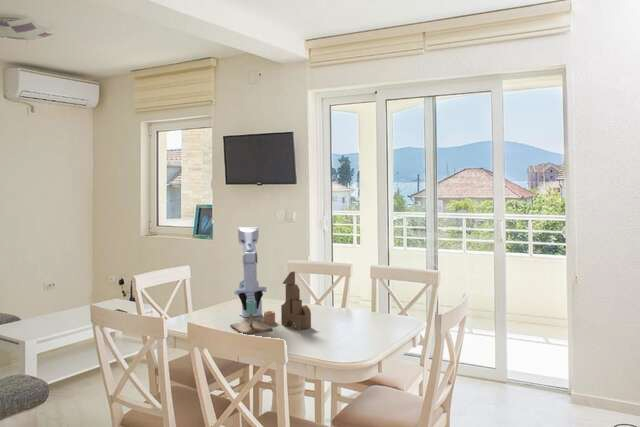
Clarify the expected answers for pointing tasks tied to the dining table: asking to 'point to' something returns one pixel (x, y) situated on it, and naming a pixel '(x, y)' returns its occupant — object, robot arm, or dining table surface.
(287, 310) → the wooden toy
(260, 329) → the brown piece
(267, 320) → the terracotta bead
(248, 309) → the teal bead
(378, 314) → the dining table surface
